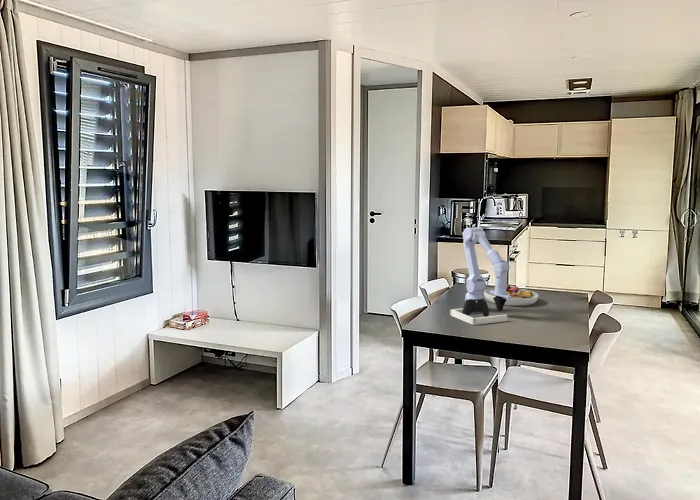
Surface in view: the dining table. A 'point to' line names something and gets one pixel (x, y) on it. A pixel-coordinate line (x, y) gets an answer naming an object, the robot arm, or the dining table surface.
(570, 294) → the dining table surface
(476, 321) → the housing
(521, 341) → the dining table surface
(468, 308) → the gaming controller
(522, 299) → the bowl
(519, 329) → the dining table surface
